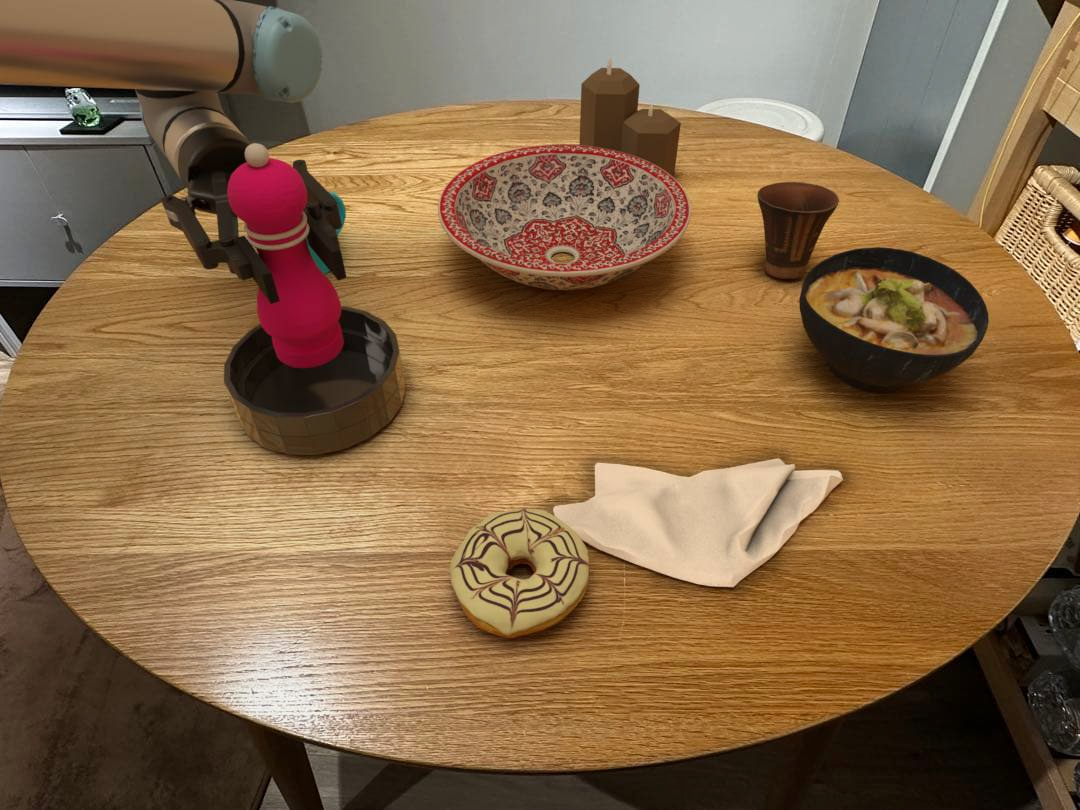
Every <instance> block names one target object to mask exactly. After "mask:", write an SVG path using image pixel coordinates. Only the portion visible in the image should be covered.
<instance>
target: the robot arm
mask: <svg viewBox="0 0 1080 810" xmlns="http://www.w3.org/2000/svg"><path fill="white" fill-rule="evenodd" d="M322 58H323V49H322V45H321V41H320V39H319V36H318V33H317V31H316V30H315V28H314V27H313V25H312V24H311V23H310V22H309V21H308V20H307V19H306V18H305V17H304V16H302V15H300V14H297V13H294V12H291V11H288V10H283V9H282V8H281V7H277V6H273V5H272V6H271V5H270V6H265V5H260V4H257V3H251V2H245V1H240V0H0V85H10V86H11V85H12V86H36V87H37V86H38V87H39V86H42V87H66V88H67V87H69V88H70V87H71V88H94V89H98V88H99V89H125V90H134V91H135V93H136V97H137V100H138V102H139V114H140V117H141V121H142V123H143V125H144V127H145V131H146V133H147V135H148V136H149V138H150V140H151V141H152V142H153V143H154V144H155V145H156V147H158V148H159V150H160V152H161V153H162V154H163V155H164V158H166V160H167V161H168V162H169V164H170V165H171V167H172V168H173V170H174V171H175V173H176V174H177V176H178V178H179V179H180V180H181V182H182V183H183V185H184V186H185V187H186V189H187V195H186V196H182V197H180V198H179V197H177V196H175V195H171V194H169V195H168V194H167V195H165V196H163V197H161V200H160V201H161V204H162V206H163V208H164V212H165V213H166V216H167V219H168V222H169V224H170V226H171V227H174V228H175V229H177V230H180V232H182V233H183V235H184V237H185V239H187V242H188V243H189V245H190V247H191V248H192V250H193V252H194V253H195V255H196V257H197V259H198V260H199V262H200V263H201V265H202V267H203V268H204V269H205V270H207V271H208V270H214V269H216V268H218V267H219V264H227V267H228V270H229V272H230V274H233V275H236V277H237V279H238V280H240V281H246V280H249V279H253V281H254V283H256V285H257V287H258V289H259V288H260V289H261V291H262V292H263V294H264V295H265V296H266V298H267V299H268V301H269V302H270V304H273V303H276V302H278V301H280V300H279V296H278V293H277V289H276V286H275V283H274V279H273V276H272V273H271V271H270V270H269V269H268V267H267V266H266V264H265V263H264V262H263V260H262V259H261V258H260V256H259V254H258V252H257V250H256V248H255V247H254V246H252V245H251V244H250V243H249V242H248V240H247V236H245V235H241V236H240V232H239V227H240V225H239V218H238V217H237V216H236V215H235V213H234V212H233V211H232V209H231V206H230V204H229V200H228V194H227V189H228V182H229V179H230V177H231V175H232V173H233V172H234V171H235V170H236V169H237V168H238V167H239V166H241V165H243V164H244V163H246V162H247V161H246V159H245V150H246V148H247V147H248V146H249V145H251V144H252V143H251V142H250V141H249V140H248V138H247V137H246V136H245V135H244V134H243V133H242V131H241V130H240V129H239V128H238V127H237V126H236V125H235V123H233V121H231V119H229V117H228V116H227V114H225V112H224V110H223V107H222V104H221V101H220V98H219V94H233V95H235V94H236V95H251V96H256V97H257V96H258V97H262V98H264V99H265V100H266V101H270V102H275V101H279V102H285V103H298V102H301V101H303V100H304V99H306V98H307V97H309V96H310V95H311V94H312V93H313V92H314V90H315V88H316V87H317V85H318V83H319V80H320V78H321V74H322V63H323V60H322ZM292 167H293V168H294V169H296V170H297V171H298V173H299V174H300V176H301V177H302V179H303V181H304V184H305V187H306V191H307V203H306V206H305V208H304V210H303V212H304V213H305V214H306V216H307V223H308V225H309V234H308V235H307V241H308V245H309V246H310V247H311V248H312V250H313V251H314V252H315V253H316V254H317V256H318V257H319V258H320V259H321V261H322V262H323V263H324V264H325V265H326V267H327V268H328V269H329V270H330V271H329V272H330V273H331V274H332V275H333V276H334V277H335V279H336V280H337V281H338V282H339V281H341V280H344V279H346V278H348V277H347V273H346V269H345V264H344V259H343V255H342V249H341V248H340V241H339V235H338V236H337V232H336V230H337V229H340V228H341V227H342V222H341V218H340V213H339V208H338V203H337V200H336V199H335V198H334V197H333V196H332V195H331V194H330V193H329V192H330V191H329V192H328V190H327V189H326V187H324V186H323V185H322V184H321V183H320V182H319V181H318V179H316V178H315V177H314V176H313V174H311V173H310V171H309V170H308V165H307V162H306V160H305V159H296V160H294V161H293V162H292ZM196 211H199V212H202V213H207V214H211V215H216V222H217V233H218V240H212V241H211V239H210V237H209V235H208V233H207V232H206V230H205V228H204V227H203V226H202V224H201V222H200V221H199V219H198V218H197V216H196V215H197V213H196Z"/></svg>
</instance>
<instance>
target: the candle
mask: <svg viewBox="0 0 1080 810" xmlns="http://www.w3.org/2000/svg"><path fill="white" fill-rule="evenodd" d="M612 65H613V59H612V57H610V58H608V61H607V66H606V67H601V68H599V69H597V70H596V71H594V72H592V73H591V74H590V75H589V76H588V77H587V78H585V80H584V81H583V82H581V85H580V86H581V87H580V88H581V89H580V111H579V112H580V113H579V114H580V117H579V143H578V145H582V146H592V147H600V148H605V149H611V150H615V151H619V152H623V153H626V154H630V155H633V156H636V157H638V158H641V159H643V160H646V161H648V162H650V163H652V164H654V165H656V166H658V167H659V168H661V169H663V170H664V171H666V172H667V173H668V174H670V175H671V176H672V177H673V178H675V173H676V164H677V156H678V149H679V140H680V133H681V125H682V123H681V122H680V120H678V119H676V118H675V117H674V116H672V115H670V114H669V113H667V112H666V111H664V110H663V109H661V108H654V105H653V104H652V105H650V106H649V108H641V109H639V110H638V108H639V98H640V97H639V96H640V83H639V82H638V81H637V79H635V78H634V76H633V75H631V74H630V73H628V72H627V71H625V70H624V69H623V68H621V67H612Z"/></svg>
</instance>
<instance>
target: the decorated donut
mask: <svg viewBox="0 0 1080 810" xmlns="http://www.w3.org/2000/svg"><path fill="white" fill-rule="evenodd" d="M520 564H521V565H528V566H530V567H531V569H532V571H533V574H532V575H531V576H530V577H528V578H523V579H522V578H517V577H514V576H512V575H509V574H507V572H509V571H510V569H512V568H514V566H517V565H520ZM449 576H450V583H451V587H452V588H453V590H454V594H455V596H456V599H457V602H458V604H459V606H460V607H461V610H462V611H463V613H464V614H465V616H466V618H467V619H468V620H469V621H470V622H471V623H473V625H474V626H475V627H476V628H478V629H480V630H484V631H485V632H487V633H490V634H492V635H495V636H499V637H502V638H506V639H515V638H517V637H521V636H526V635H529V634H535V633H537V632H541V631H544V630H547V629H548V628H551V627H552V626H555V625H557V624H559V623H560V622H562V621H563V620H565V619H566V617H567V616H568V615H570V614H571V612H573V610H574V609H575V608H576V607H577V606H578V605H579V603H580V602H581V601H582V600H583V597H584V595H585V594H586V591H587V589H588V586H589V580H590V557H589V550H588V547H587V546H586V545H585V542H583V541H582V540H581V538H580V537H579V535H578V534H577V533H576V532H575V531H574V530H572V529H571V528H570V527H569V526H567V525H566V524H565V523H563V522H562V521H561V520H560V519H558V518H557V517H556V516H555V515H554V514H552V513H550V512H548V511H546V510H543V509H540V508H539V509H538V508H526V507H522V508H514V509H508V510H504V511H499V512H493V513H491V514H489V515H487V516H486V517H485V518H483V519H482V520H481V522H480V523H479V524H477V525H474V526H472V527H471V528H470V529H469V530H468V532H467V534H466V535H465V537H464V540H463V541H462V542H461V543H460V544H459V546H458V547H457V548H456V550H455V552H454V554H453V556H452V558H451V562H450V564H449Z"/></svg>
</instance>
